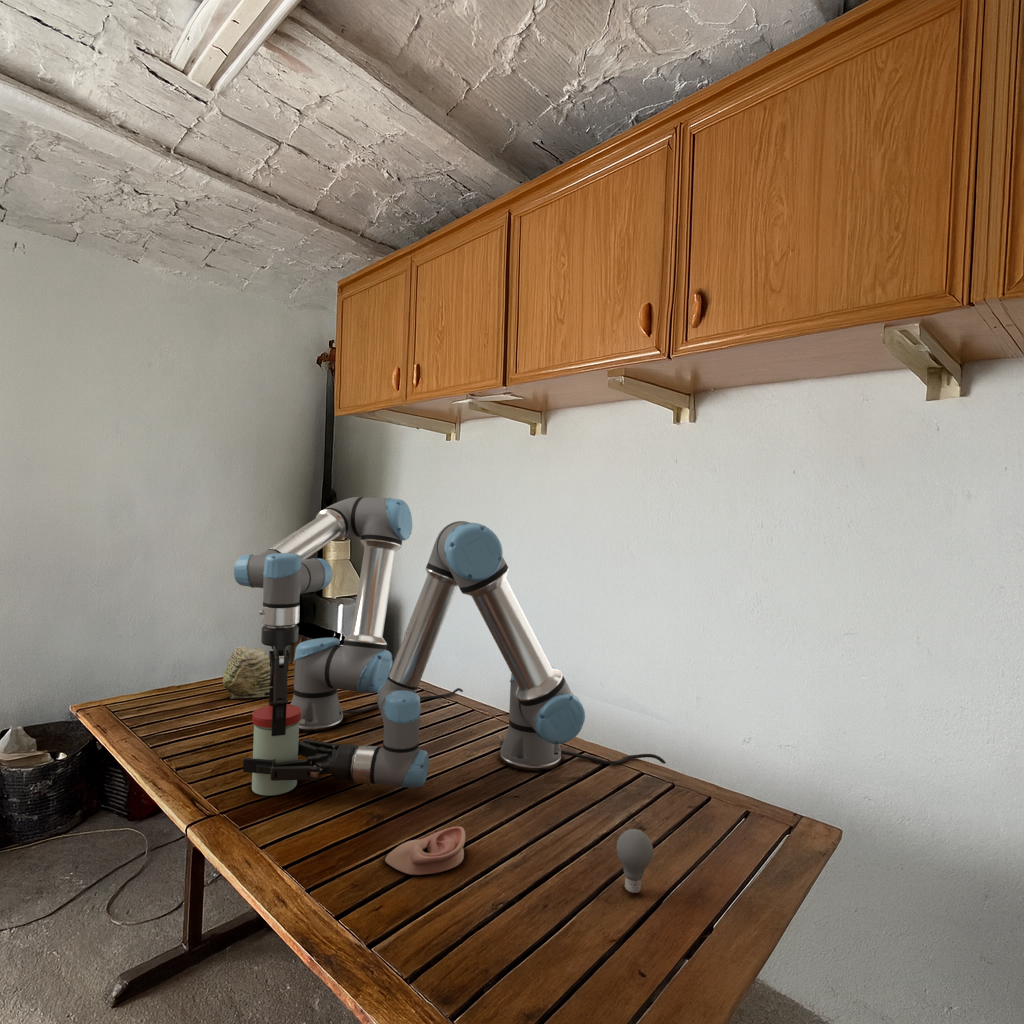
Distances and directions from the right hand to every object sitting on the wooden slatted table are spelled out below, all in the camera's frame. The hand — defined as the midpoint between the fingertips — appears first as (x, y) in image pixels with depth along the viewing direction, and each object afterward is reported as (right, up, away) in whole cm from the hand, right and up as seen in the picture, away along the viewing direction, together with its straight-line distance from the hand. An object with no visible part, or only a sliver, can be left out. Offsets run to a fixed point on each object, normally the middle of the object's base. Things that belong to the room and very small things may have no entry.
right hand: (255, 755), depth 138 cm
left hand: (+5, +7, 0) cm, 8 cm away
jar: (+4, -7, 0) cm, 8 cm away
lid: (+5, +9, -1) cm, 11 cm away
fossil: (-25, -4, +60) cm, 65 cm away
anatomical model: (+41, -9, -25) cm, 49 cm away
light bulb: (+76, -10, -32) cm, 83 cm away
